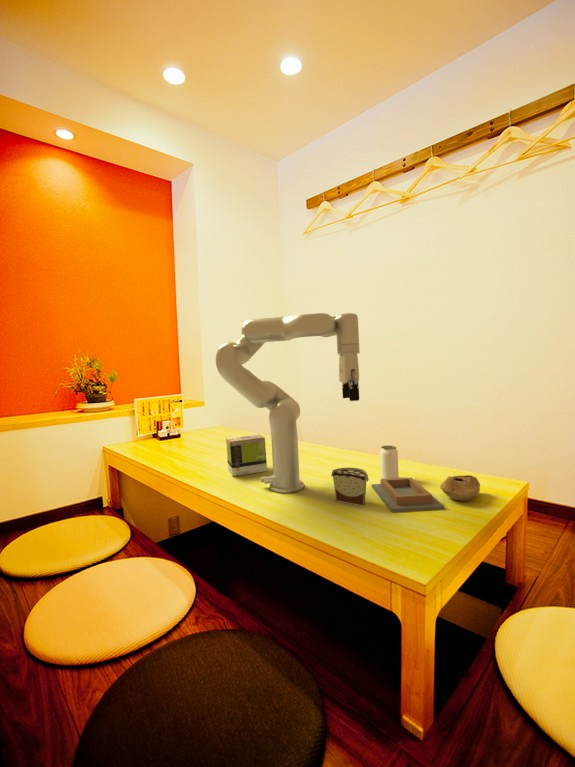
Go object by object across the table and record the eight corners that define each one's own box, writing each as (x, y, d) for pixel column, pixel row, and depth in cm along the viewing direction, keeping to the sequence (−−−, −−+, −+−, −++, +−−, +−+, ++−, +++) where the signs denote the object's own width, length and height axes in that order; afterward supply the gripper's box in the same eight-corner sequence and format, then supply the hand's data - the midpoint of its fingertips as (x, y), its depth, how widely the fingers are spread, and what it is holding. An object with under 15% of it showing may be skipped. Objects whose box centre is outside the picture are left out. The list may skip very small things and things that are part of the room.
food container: (374, 500, 121) (374, 469, 120) (368, 506, 115) (367, 475, 115) (339, 494, 127) (338, 465, 127) (332, 500, 122) (330, 470, 121)
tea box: (261, 465, 166) (259, 433, 165) (267, 472, 156) (265, 437, 155) (227, 470, 161) (225, 436, 160) (231, 477, 152) (229, 441, 151)
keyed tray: (391, 512, 111) (391, 500, 110) (371, 487, 133) (371, 477, 132) (444, 508, 111) (444, 497, 111) (416, 484, 133) (415, 474, 133)
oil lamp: (488, 494, 121) (487, 470, 121) (470, 508, 111) (469, 482, 110) (453, 487, 129) (453, 464, 129) (434, 499, 119) (433, 475, 118)
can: (399, 481, 137) (398, 449, 136) (381, 481, 138) (380, 449, 138) (397, 476, 143) (396, 445, 143) (380, 475, 145) (379, 445, 144)
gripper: (332, 351, 137) (334, 397, 138) (343, 349, 120) (346, 402, 121) (352, 350, 138) (354, 396, 139) (366, 348, 121) (368, 401, 122)
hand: (350, 399), depth 130 cm, fingers open, 9 cm apart
